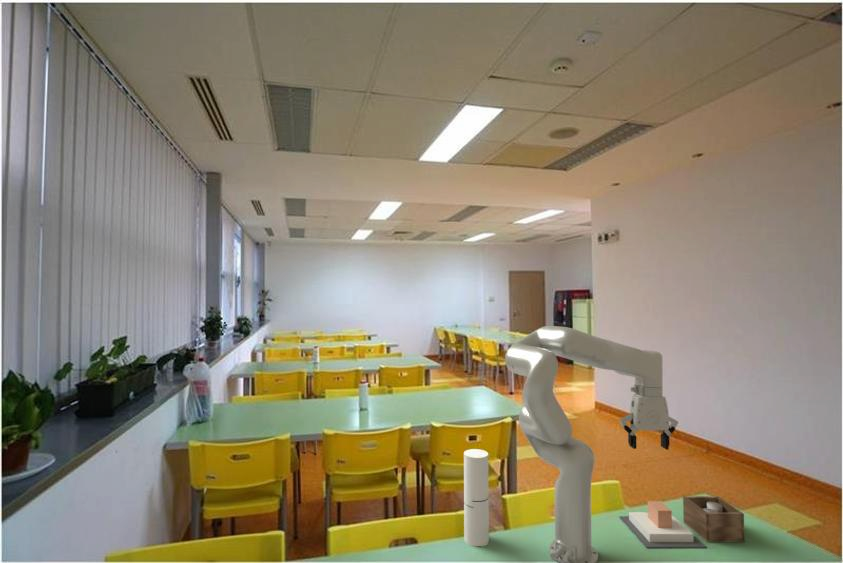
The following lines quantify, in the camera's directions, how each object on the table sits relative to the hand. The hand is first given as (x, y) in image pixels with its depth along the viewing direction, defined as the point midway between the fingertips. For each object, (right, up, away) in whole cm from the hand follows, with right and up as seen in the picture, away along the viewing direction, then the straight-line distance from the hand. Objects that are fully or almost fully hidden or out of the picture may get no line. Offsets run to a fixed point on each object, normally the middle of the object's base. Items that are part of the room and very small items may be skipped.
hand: (648, 447), depth 133 cm
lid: (+3, -24, -1) cm, 25 cm away
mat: (+3, -25, -1) cm, 25 cm away
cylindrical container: (-53, -25, -6) cm, 59 cm away
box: (+19, -25, -1) cm, 31 cm away
